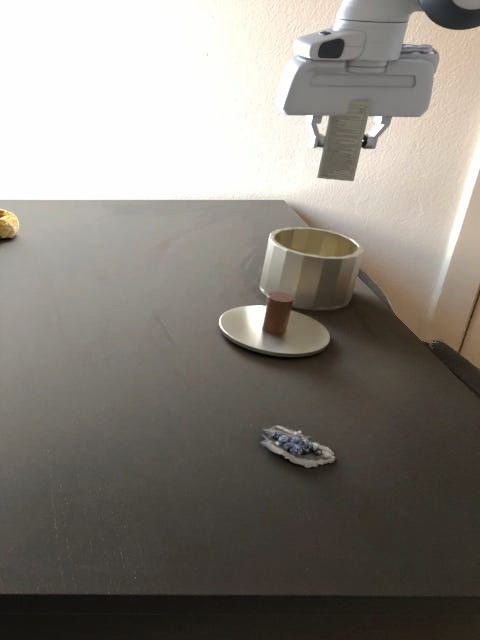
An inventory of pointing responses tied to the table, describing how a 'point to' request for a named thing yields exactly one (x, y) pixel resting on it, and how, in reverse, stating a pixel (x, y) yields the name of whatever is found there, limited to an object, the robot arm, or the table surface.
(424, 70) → the robot arm
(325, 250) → the pot
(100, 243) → the table surface
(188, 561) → the table surface
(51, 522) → the table surface
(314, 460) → the blueberries
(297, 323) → the lid
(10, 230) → the bagel
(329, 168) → the box
